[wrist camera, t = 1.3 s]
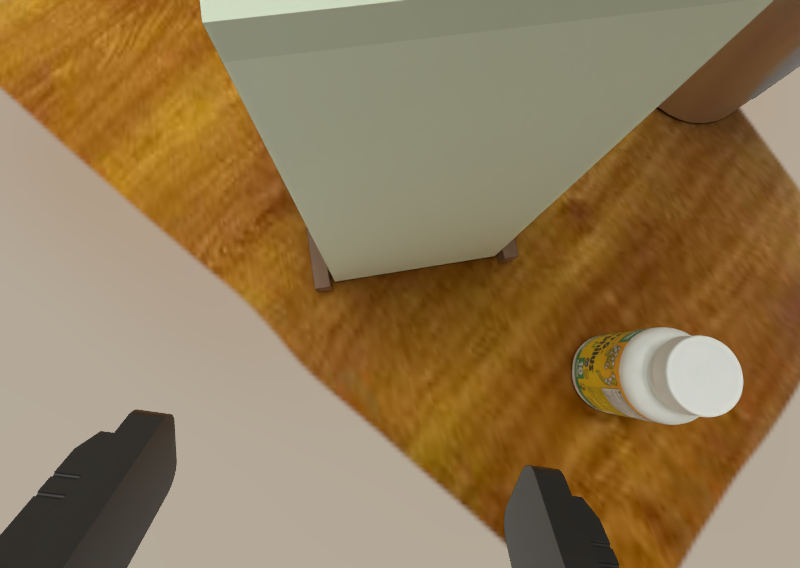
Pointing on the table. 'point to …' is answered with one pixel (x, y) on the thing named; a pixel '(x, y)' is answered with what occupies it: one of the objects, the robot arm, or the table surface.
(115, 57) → the table surface
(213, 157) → the table surface
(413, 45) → the hood
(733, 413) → the table surface
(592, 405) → the supplement bottle
